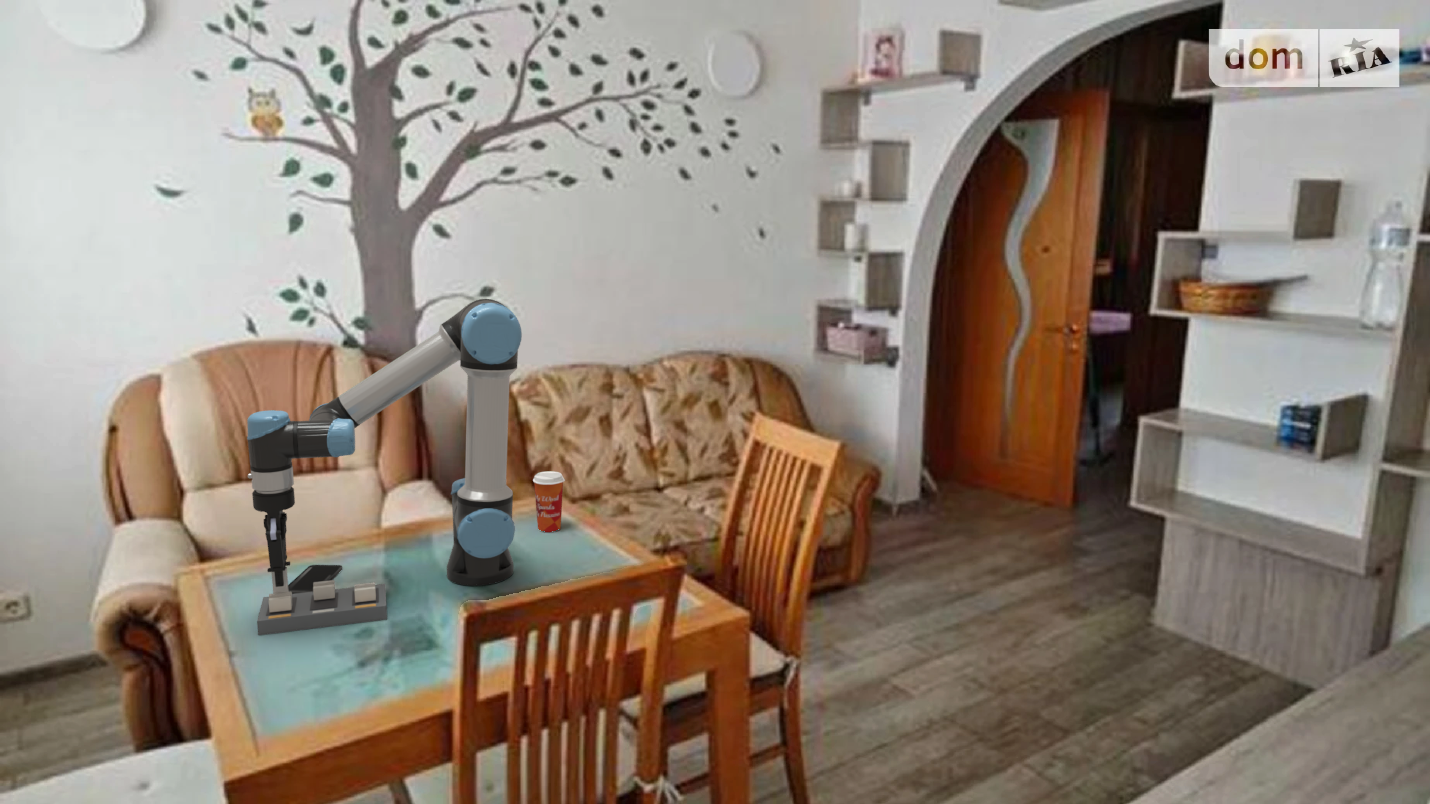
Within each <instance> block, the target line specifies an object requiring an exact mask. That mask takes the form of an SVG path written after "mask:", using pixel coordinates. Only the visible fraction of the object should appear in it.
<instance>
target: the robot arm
mask: <svg viewBox="0 0 1430 804" xmlns="http://www.w3.org/2000/svg"><path fill="white" fill-rule="evenodd" d="M522 336H523V333H522V327H521V324H520V322H519V319H518V318H517V316H516V315H515V313H514V312H513V311H512V310H511V309H509V308H508V307H506V306H505V305H504V304H503V303H501V302H500V301H497V300H495V299H492V298H491V299H490V298H480V299H475V300H474V301H471V302H470V303H468V304H467V305H465V306H464V307H463V308H462V309H461V310H459V311H458V312H456V313H455V314H454V315H453V316H451V317H450V318H448V319H447V320H445V321H444V322H443V323H440V324H439V329H438V332H436V333H435V334H433V335H431V336H430V337H428V338H427V339H425V340H424V341H421V342H420V343H419V344H417V345H416V346H414V347H413V348H411V349H409V350H407V352H405V353H403V354H402V355H400V356H399V357H397V358H396V359H394V360H392V361H391V362H389V363H387V364H386V365H385V366H383V367H381V368H380V369H379V370H377V371H376V372H374V373H373V374H371V375H369V376H368V377H366V378H365V379H363V380H362V381H360V382H358V383H357V384H355V385H353V387H351V388H349V389H347V390H346V391H345V392H343V393H341V394H340V395H339V396H337V397H335V398H334V399H332V400H330V402H328V403H323V404H320V405H319V406H317V407H316V408H315V409H314V410H313V411H312V413H311V414H310V416H309V419H308V420H291V419H290V417H289V416H290V415H289V413H288V412H287V411H285V410H276V409H275V410H271V409H270V410H269V409H267V410H261V411H256V412H254V413H251V414H250V415H249V416H248V418H247V437H246V438H247V444H248V445H247V446H248V455H249V465H250V467H249V469H250V473H248V474H247V478H248V479H251V488H252V489H253V491H252V493H251V495H252V496H251V497H252V505H253V506H252V507H253V509H254V510H255V511H258V512H260V513H265V515H264V518H263V527H264V529H265V537H266V539H265V540H266V541H267V551H268V559H269V561H268V562H269V567H268V568H267V573H271V583H272V594H273V593H282V592H289V590H288V585H289V581H288V568H287V567H288V566H291V561H287V559H288V553H287V538H286V534H287V520H288V516H287V515H288V514H287V513H286V512H285V510H288V509H289V510H290V509H291V508H292V507H294V505H295V504H296V501H295V498H296V497H295V488H294V487H293V485H295V483H294V482H295V481H294V467H293V462H292V461H293V459H295V460H296V459H311V458H313V459H314V458H316V459H317V458H339V457H345V456H351V455H353V454H355V452H356V433H355V432H356V428H357V427H359V426H360V425H362V424H363V423H365V422H366V421H368V420H370V419H371V418H372V417H374V416H375V415H377V414H379V413H380V412H382V411H383V410H385V409H386V408H388V407H389V406H391V405H392V404H394V403H395V402H397V401H399V400H400V399H401V398H404V397H405V396H406V395H408V394H410V393H411V392H412V391H414V390H415V389H417V388H418V387H421V386H422V385H424V383H426V382H429V380H431V379H432V378H434V377H435V376H438V375H439V374H440V373H442V372H444V371H445V370H446V369H448V368H450V367H451V366H452V365H454V364H456V363H457V362H459V361H460V363H459V364H460V368H461V370H463V372H464V373H465V374H466V375H467V380H466V381H467V382H466V383H467V387H466V388H467V389H466V393H467V394H466V427H465V428H466V429H465V430H466V432H465V465H464V466H465V472H464V473H465V474H464V477H463V478H460V479H456V480H455V481H454V482H452V485H451V492H450V495H451V502H452V503H451V505H452V506H451V507H452V529H453V530H452V532H453V534H452V535H453V536H452V537H453V544H452V548H451V552H450V554H449V558H448V561H447V564H446V577H447V579H448V580H449V581H450V582H452V583H454V584H457V585H461V586H469V587H470V586H471V587H472V586H473V587H477V586H479V587H480V586H488V585H494V584H496V583H500V582H502V581H505V580H508V579H509V578H510V577H512V576H513V574H514V570H515V569H514V560H513V557H512V555H511V552H510V549H509V548H510V546H511V545H512V543H513V541H514V538H515V531H516V526H515V522H514V520H513V505H514V504H513V500H514V498H513V497H514V496H513V495H514V493H513V490H512V489H511V488H510V487H509V486H508V485H507V467H508V465H507V463H508V462H507V461H508V437H509V436H508V435H509V433H508V432H509V429H508V428H509V406H510V405H509V404H510V403H509V401H510V377H511V375H512V374H514V372H516V370H517V369H518V356H519V348H520V346H521V342H522Z"/></svg>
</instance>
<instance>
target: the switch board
mask: <svg viewBox="0 0 1430 804" xmlns="http://www.w3.org/2000/svg"><path fill="white" fill-rule="evenodd" d="M375 591H376V600H373V601H364V602H356V603H355V588H354V586H352V587H351V586H350V587H344V588H343V587H341V588H335V598H330V599H321V600H314V594H313V592H305V593H296V594H292V603H293V604H292V610H287V611H279V612H269V596H263V597H262V601H261V605H260V608H259V611H258V615H257V620H256V625H257V635H258V636H264V635H271V634H280V633H287V632H288V633H289V632H294V631H303V630H311V629H312V630H313V629H320V628H328V627H337V626H344V625H352V624H362V623H367V622H374V621H375V622H376V621H377V622H378V621H384V620H385V621H386V620H388V611H387V610H388V607H387V595H386V594H387V593H386V592H387V590H386V583H379V584H378V583H377V584H375Z"/></svg>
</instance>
